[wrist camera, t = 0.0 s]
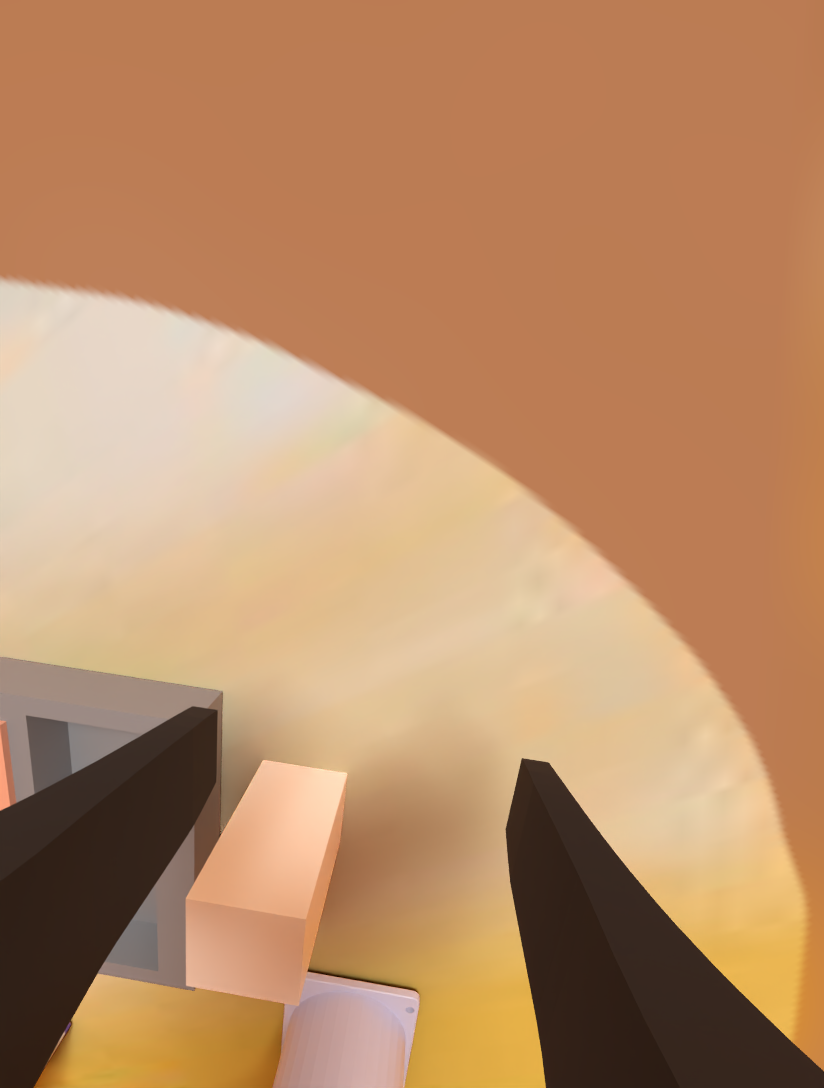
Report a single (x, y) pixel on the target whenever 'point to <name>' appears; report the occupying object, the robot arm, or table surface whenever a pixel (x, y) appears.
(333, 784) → the plug block
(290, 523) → the table surface
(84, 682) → the organiser tray
